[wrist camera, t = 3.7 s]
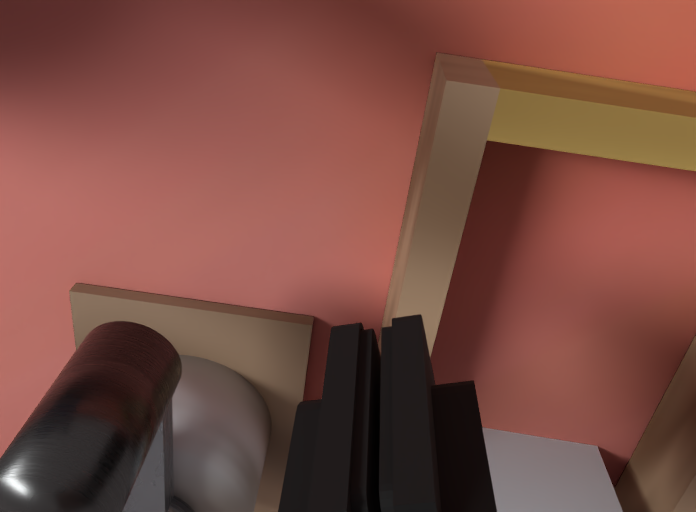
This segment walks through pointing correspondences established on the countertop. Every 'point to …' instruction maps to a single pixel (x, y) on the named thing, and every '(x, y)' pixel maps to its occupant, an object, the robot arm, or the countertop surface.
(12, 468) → the crank
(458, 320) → the countertop surface
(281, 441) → the winch
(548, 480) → the white rectangular block
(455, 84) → the bay
